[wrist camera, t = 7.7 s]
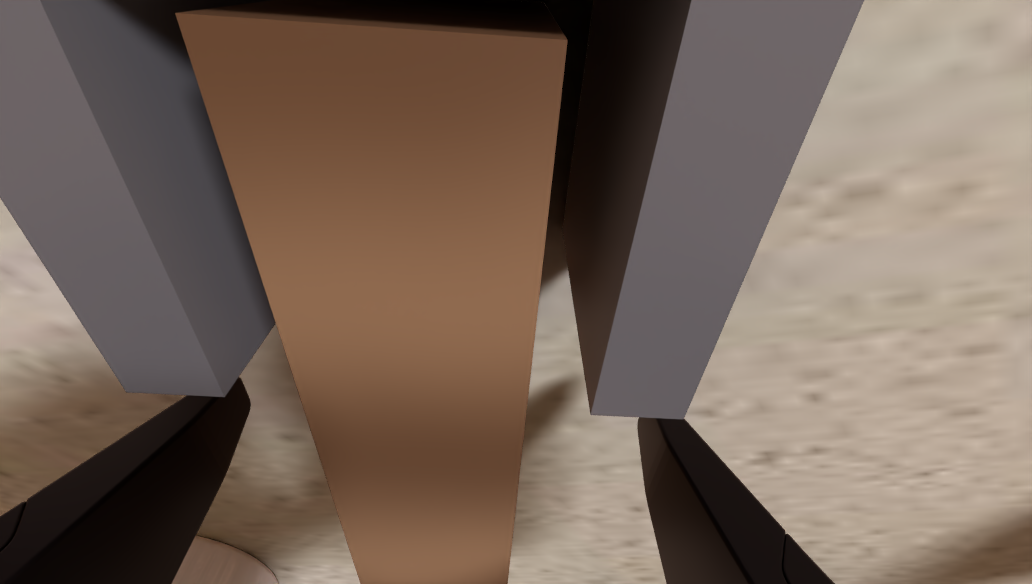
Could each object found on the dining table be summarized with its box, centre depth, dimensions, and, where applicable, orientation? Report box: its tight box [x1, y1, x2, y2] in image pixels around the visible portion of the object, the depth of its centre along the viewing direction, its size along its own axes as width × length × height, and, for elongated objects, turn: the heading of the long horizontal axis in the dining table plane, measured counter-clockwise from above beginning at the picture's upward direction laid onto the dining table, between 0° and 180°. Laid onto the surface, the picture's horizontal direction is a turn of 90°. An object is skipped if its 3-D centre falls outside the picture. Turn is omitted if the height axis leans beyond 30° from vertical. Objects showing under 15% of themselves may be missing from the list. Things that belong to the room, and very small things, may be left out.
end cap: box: [0, 0, 864, 419], centre depth 6 cm, size 6×7×5 cm
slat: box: [175, 0, 568, 584], centre depth 9 cm, size 12×3×5 cm, turn 177°
